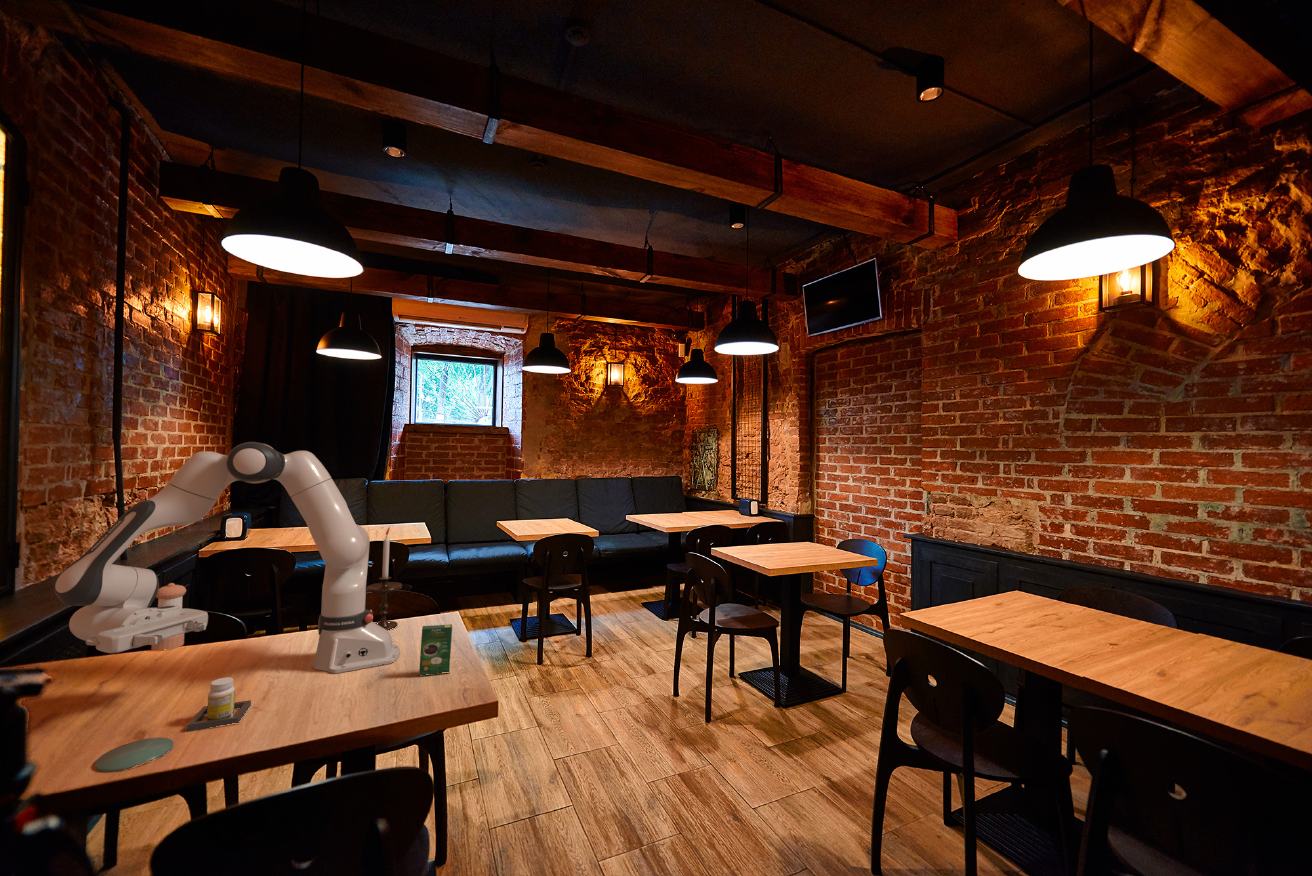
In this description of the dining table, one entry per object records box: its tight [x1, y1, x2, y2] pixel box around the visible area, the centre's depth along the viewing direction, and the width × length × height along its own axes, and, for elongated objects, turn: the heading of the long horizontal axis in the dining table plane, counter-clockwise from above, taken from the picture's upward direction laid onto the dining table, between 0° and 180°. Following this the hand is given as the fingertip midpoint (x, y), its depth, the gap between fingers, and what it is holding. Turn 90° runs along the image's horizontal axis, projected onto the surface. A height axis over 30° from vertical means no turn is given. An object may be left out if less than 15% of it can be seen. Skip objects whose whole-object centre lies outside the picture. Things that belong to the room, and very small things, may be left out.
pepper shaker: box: [150, 582, 187, 652], centre depth 161 cm, size 7×7×19 cm
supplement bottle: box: [206, 677, 236, 720], centre depth 119 cm, size 5×5×8 cm
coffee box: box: [418, 623, 453, 677], centre depth 146 cm, size 8×3×13 cm, turn 110°
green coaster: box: [94, 736, 174, 773], centre depth 104 cm, size 11×11×1 cm
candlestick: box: [366, 525, 403, 631], centre depth 183 cm, size 11×11×35 cm
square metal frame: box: [186, 699, 252, 733], centre depth 119 cm, size 9×9×1 cm
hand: (181, 633), depth 122 cm, fingers open, 8 cm apart
